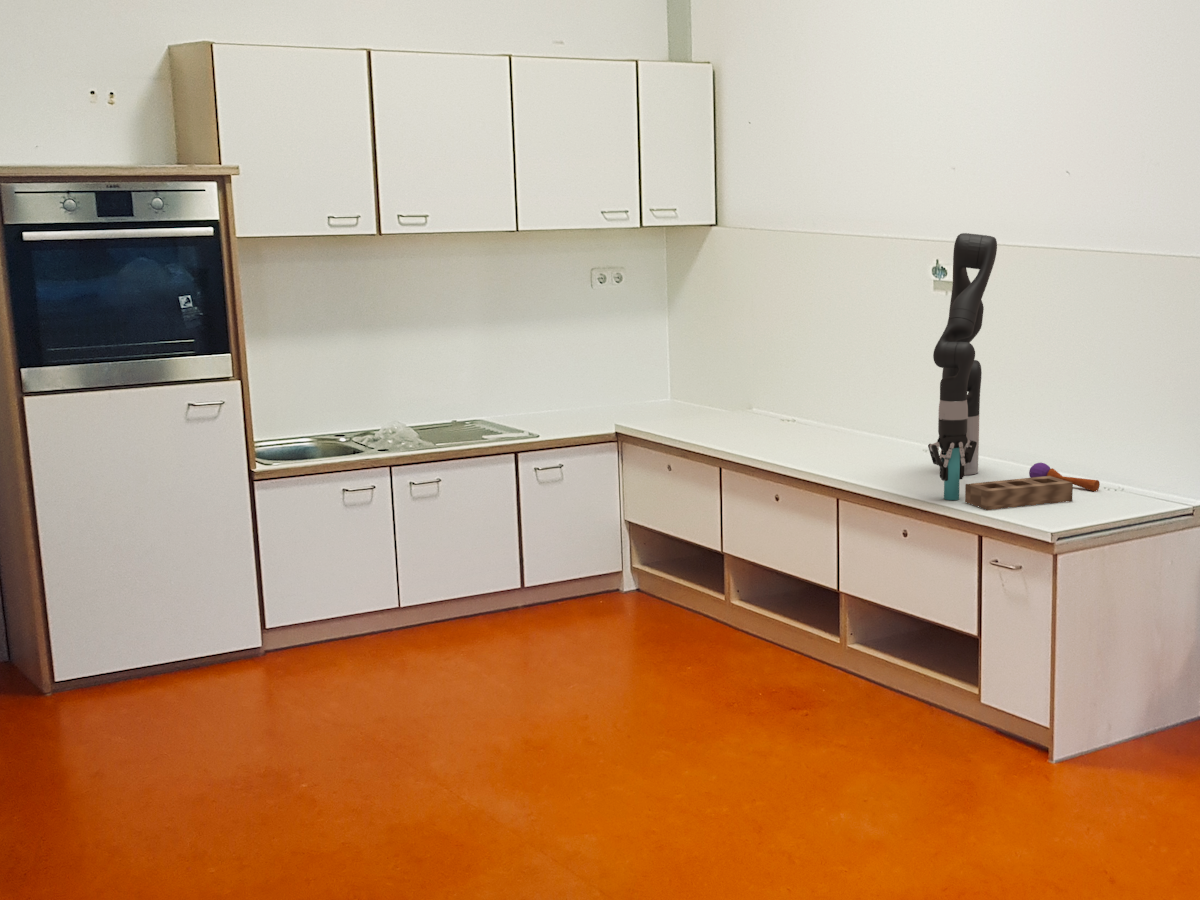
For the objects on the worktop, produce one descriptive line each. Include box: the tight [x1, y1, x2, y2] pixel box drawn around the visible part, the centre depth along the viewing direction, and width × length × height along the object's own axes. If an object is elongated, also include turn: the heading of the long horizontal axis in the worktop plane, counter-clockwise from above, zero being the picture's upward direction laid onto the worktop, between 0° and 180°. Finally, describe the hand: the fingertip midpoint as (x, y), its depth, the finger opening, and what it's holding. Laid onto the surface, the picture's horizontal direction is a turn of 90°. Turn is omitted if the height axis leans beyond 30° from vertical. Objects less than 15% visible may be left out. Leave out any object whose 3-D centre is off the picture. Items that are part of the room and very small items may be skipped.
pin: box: [943, 448, 961, 501], centre depth 358 cm, size 4×4×14 cm
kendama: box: [1028, 462, 1100, 492], centre depth 372 cm, size 6×6×20 cm
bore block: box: [964, 476, 1074, 511], centre depth 354 cm, size 26×10×5 cm, turn 107°
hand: (951, 479), depth 359 cm, fingers closed on pin, 4 cm apart
